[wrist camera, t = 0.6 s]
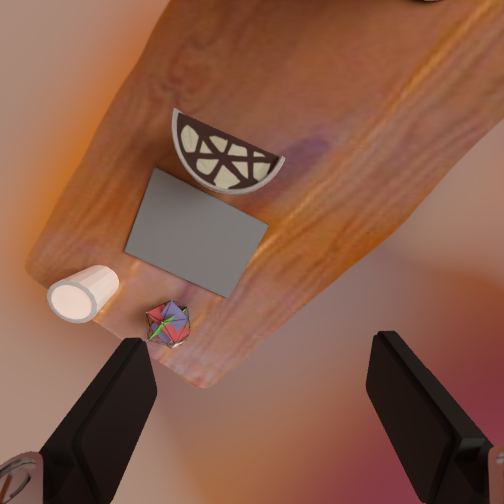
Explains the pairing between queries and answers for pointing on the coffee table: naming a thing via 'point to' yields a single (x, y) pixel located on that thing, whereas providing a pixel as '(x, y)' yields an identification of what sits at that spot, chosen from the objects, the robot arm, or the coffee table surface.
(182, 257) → the mat
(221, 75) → the coffee table surface
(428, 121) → the coffee table surface
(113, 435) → the robot arm
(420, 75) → the coffee table surface
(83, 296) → the shot glass
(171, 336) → the geometric puzzle
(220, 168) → the food container
